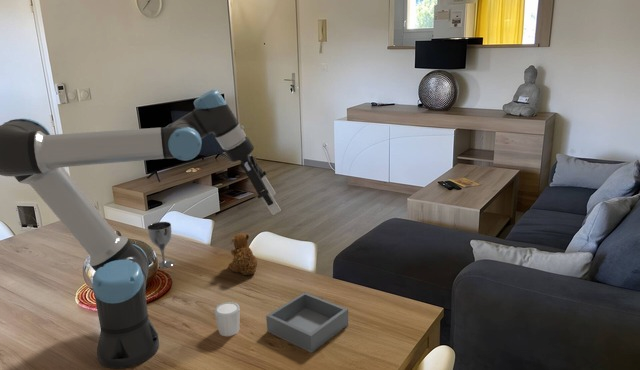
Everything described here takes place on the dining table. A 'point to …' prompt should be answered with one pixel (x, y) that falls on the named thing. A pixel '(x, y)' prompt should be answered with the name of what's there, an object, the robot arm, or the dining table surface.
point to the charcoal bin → (307, 321)
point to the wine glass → (161, 239)
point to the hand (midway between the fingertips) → (274, 203)
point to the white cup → (228, 318)
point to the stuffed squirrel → (242, 256)
